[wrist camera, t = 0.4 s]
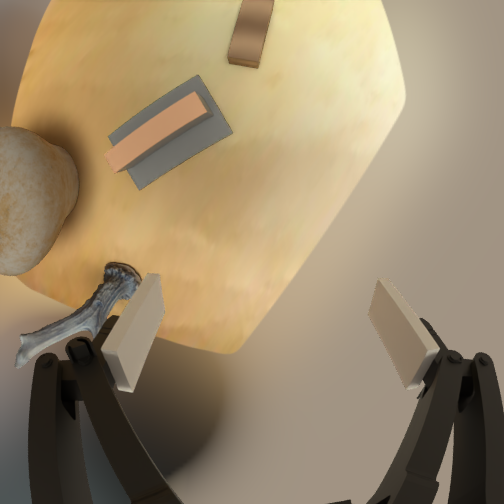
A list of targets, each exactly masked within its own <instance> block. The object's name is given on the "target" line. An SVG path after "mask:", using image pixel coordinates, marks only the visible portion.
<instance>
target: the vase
mask: <svg viewBox="0 0 504 504" xmlns="http://www.w3.org/2000/svg"><path fill="white" fill-rule="evenodd" d="M78 192H79V178H78V172H77V168H76V165H75V163H74V161H73V159H72V158H71V156H70V154H69V153H68V152H67V151H66V150H65V149H63V148H62V147H60V146H58V145H51V144H50V143H49V142H47V141H46V140H44V139H43V138H42V137H40V136H39V135H37V134H35V133H33V132H31V131H29V130H27V129H24V128H20V127H8V126H6V127H0V274H2V275H7V276H17V275H20V274H23V273H26V272H28V271H29V270H31V269H32V268H33V267H35V266H36V265H37V264H39V263H40V261H41V260H42V259H43V258H44V257H45V256H46V254H47V253H48V252H49V251H50V249H51V248H52V246H53V244H54V242H55V240H56V238H57V237H58V235H59V233H60V230H61V228H62V225H63V223H64V221H65V218H66V217H67V216H68V215H69V213H70V212H71V211H72V210H73V208H74V206H75V204H76V201H77V197H78Z"/></svg>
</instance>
